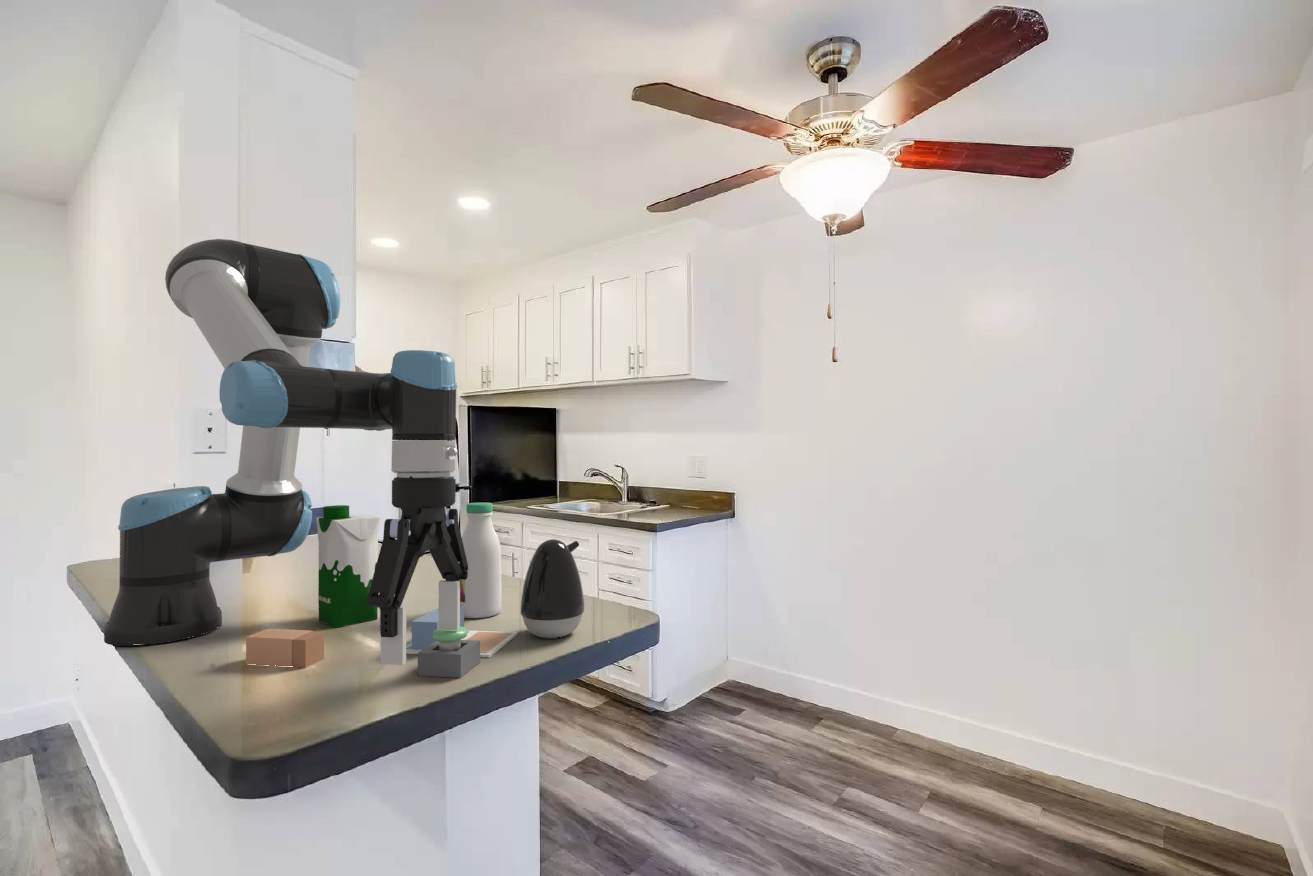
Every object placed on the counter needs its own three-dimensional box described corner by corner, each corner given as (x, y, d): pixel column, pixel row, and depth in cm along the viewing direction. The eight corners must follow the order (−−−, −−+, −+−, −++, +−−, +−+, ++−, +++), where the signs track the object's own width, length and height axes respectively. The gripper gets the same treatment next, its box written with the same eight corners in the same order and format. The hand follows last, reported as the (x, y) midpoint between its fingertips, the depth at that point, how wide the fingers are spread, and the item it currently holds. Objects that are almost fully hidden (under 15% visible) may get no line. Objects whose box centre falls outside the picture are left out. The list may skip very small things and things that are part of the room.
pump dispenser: (598, 633, 102) (598, 538, 102) (546, 648, 94) (546, 546, 94) (559, 621, 109) (559, 533, 109) (507, 634, 101) (507, 539, 101)
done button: (426, 656, 84) (426, 634, 84) (442, 645, 88) (442, 625, 88) (457, 657, 83) (457, 636, 83) (472, 647, 87) (472, 626, 87)
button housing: (417, 675, 83) (417, 652, 83) (439, 660, 89) (439, 638, 89) (460, 677, 82) (460, 654, 82) (480, 662, 88) (480, 640, 88)
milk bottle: (507, 608, 117) (507, 501, 118) (492, 620, 110) (492, 505, 110) (467, 607, 118) (467, 501, 118) (449, 619, 110) (450, 504, 111)
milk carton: (310, 621, 109) (311, 505, 110) (363, 610, 116) (363, 502, 117) (332, 630, 104) (333, 509, 104) (386, 619, 111) (386, 505, 111)
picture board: (398, 653, 92) (398, 649, 92) (435, 631, 103) (435, 628, 103) (489, 657, 90) (489, 654, 90) (517, 635, 101) (517, 631, 101)
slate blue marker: (437, 649, 92) (437, 622, 92) (411, 648, 92) (411, 621, 93) (464, 632, 101) (464, 607, 101) (441, 631, 101) (441, 606, 101)
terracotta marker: (245, 666, 87) (246, 637, 87) (267, 656, 91) (267, 628, 91) (304, 669, 86) (305, 639, 86) (324, 659, 90) (324, 631, 90)
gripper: (397, 480, 66) (396, 683, 66) (492, 471, 91) (492, 619, 90) (331, 480, 67) (330, 679, 67) (443, 471, 92) (443, 617, 92)
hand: (423, 645), depth 79 cm, fingers open, 13 cm apart
